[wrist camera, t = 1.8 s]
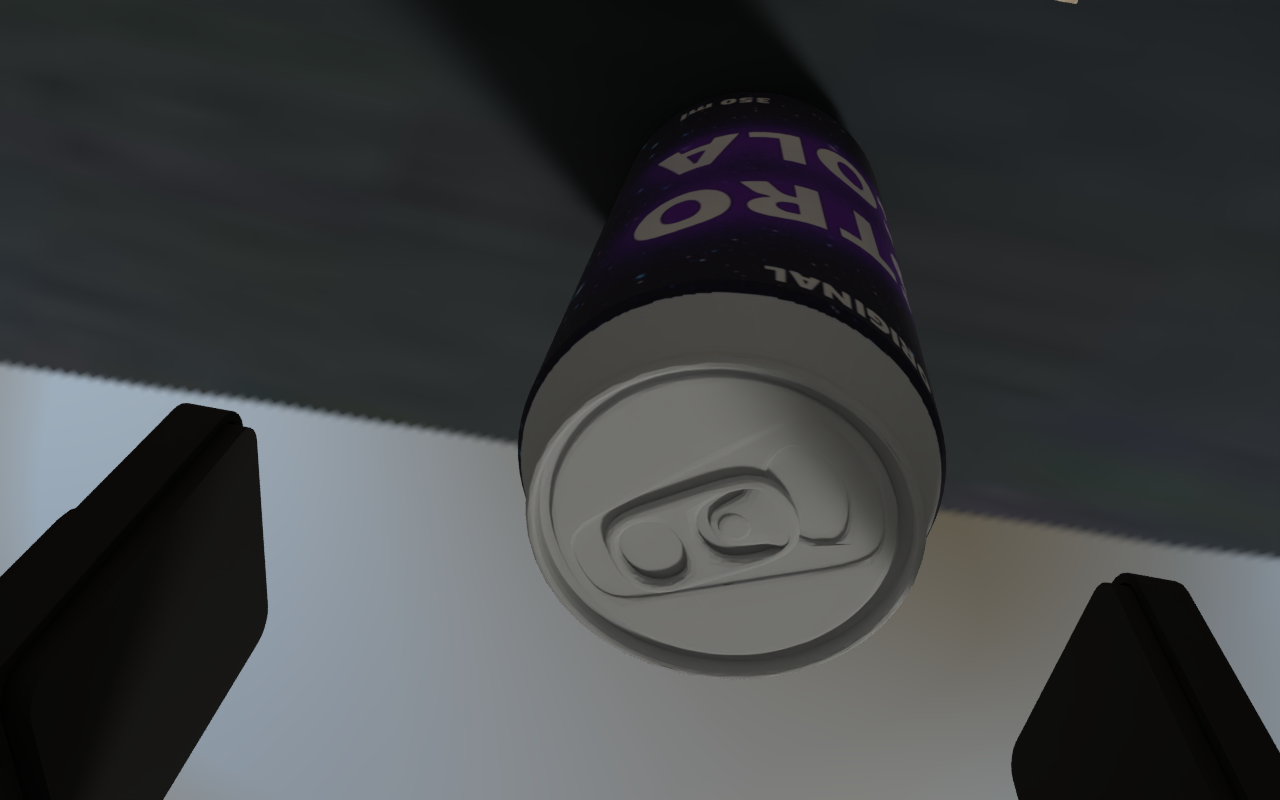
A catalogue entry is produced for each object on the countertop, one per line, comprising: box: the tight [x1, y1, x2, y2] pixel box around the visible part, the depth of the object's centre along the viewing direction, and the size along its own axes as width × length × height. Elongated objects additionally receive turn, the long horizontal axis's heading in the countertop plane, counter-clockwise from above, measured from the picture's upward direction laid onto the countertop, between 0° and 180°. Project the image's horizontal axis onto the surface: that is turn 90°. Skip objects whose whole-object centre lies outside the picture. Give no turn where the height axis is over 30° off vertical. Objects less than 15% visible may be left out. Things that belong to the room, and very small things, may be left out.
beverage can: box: [518, 91, 946, 680], centre depth 17 cm, size 6×6×12 cm
